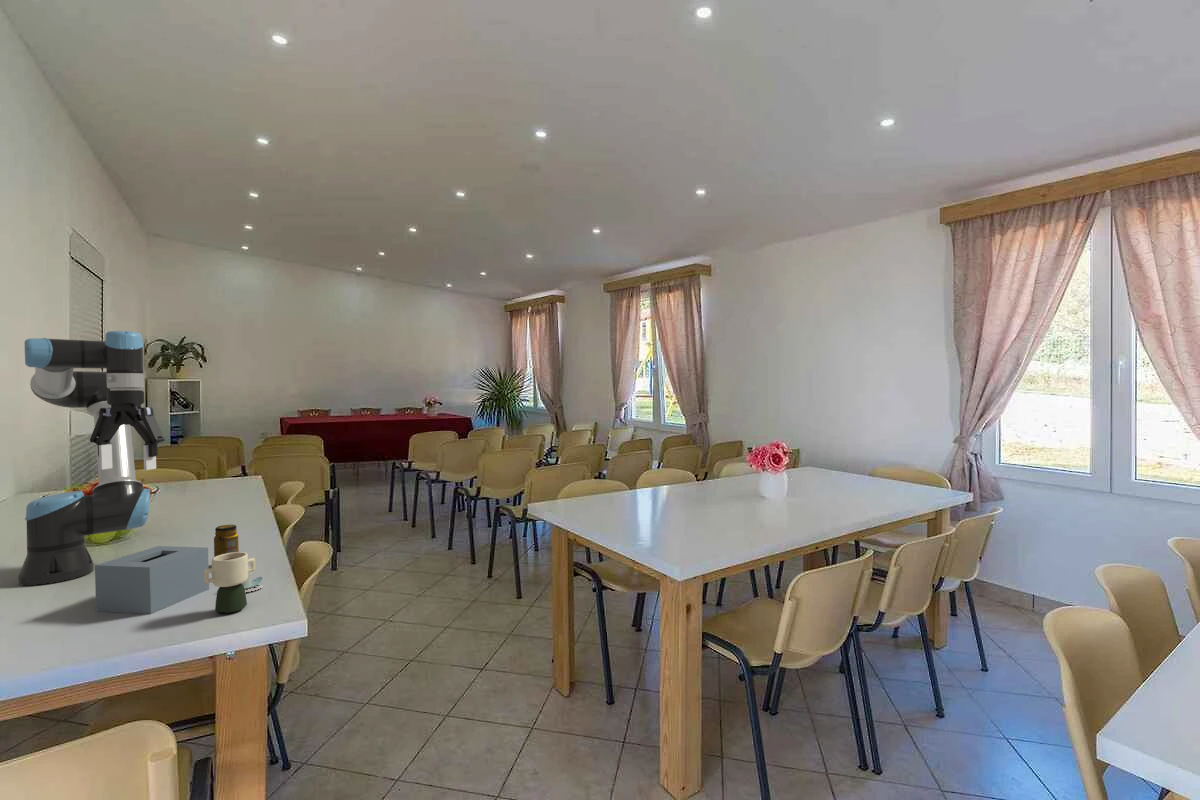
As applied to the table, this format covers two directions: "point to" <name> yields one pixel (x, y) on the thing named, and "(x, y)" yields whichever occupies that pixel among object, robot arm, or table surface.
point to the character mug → (230, 580)
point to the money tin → (150, 579)
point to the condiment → (225, 540)
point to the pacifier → (250, 584)
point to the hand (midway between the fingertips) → (128, 469)
